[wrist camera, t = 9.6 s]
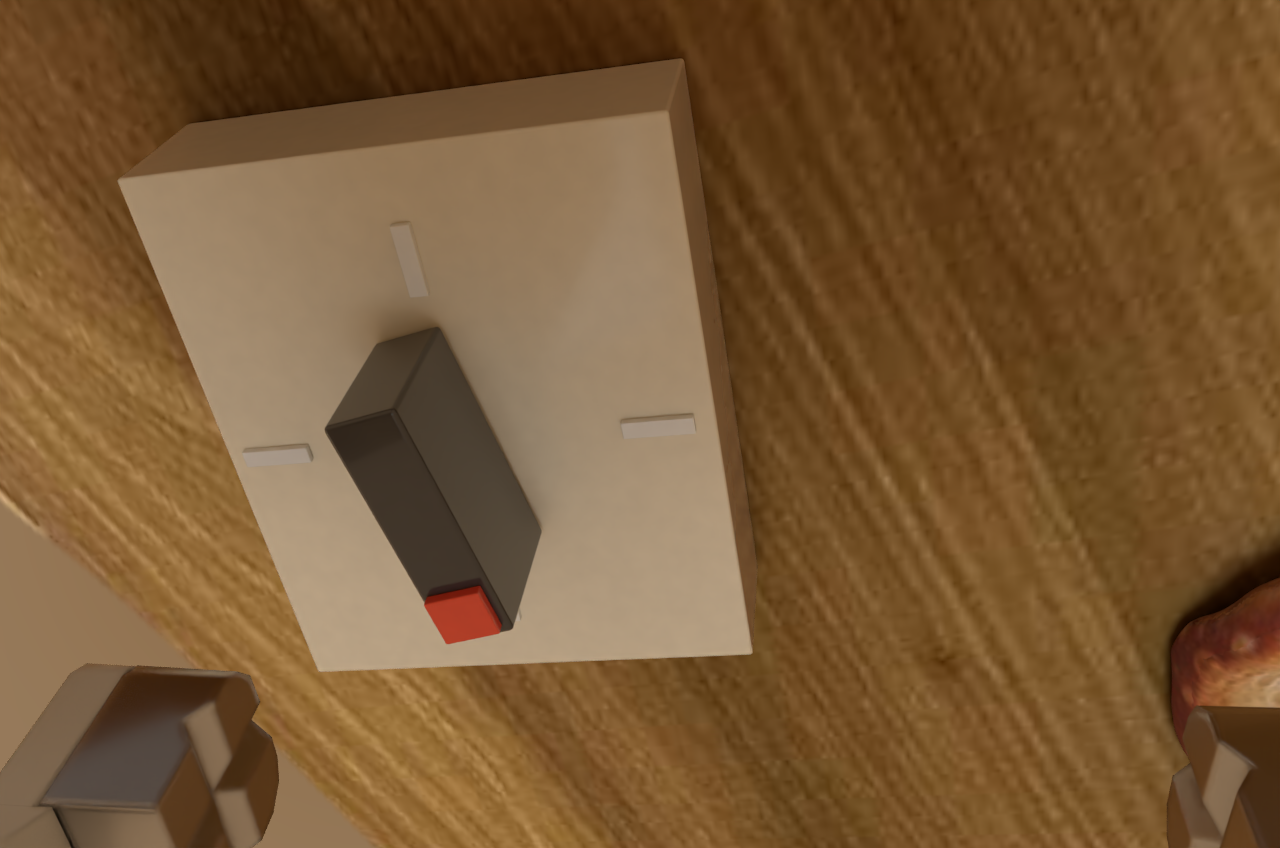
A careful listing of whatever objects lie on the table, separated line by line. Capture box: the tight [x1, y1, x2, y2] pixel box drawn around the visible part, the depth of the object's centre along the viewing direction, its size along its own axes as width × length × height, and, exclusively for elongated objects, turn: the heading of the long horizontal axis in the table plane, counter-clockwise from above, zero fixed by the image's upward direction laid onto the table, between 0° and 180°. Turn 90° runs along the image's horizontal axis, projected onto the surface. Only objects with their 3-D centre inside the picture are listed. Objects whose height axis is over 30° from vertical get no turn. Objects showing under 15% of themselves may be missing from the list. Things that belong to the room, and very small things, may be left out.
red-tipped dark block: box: [325, 327, 542, 644], centre depth 23 cm, size 5×1×3 cm, turn 21°
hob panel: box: [118, 58, 758, 672], centre depth 25 cm, size 12×10×3 cm
